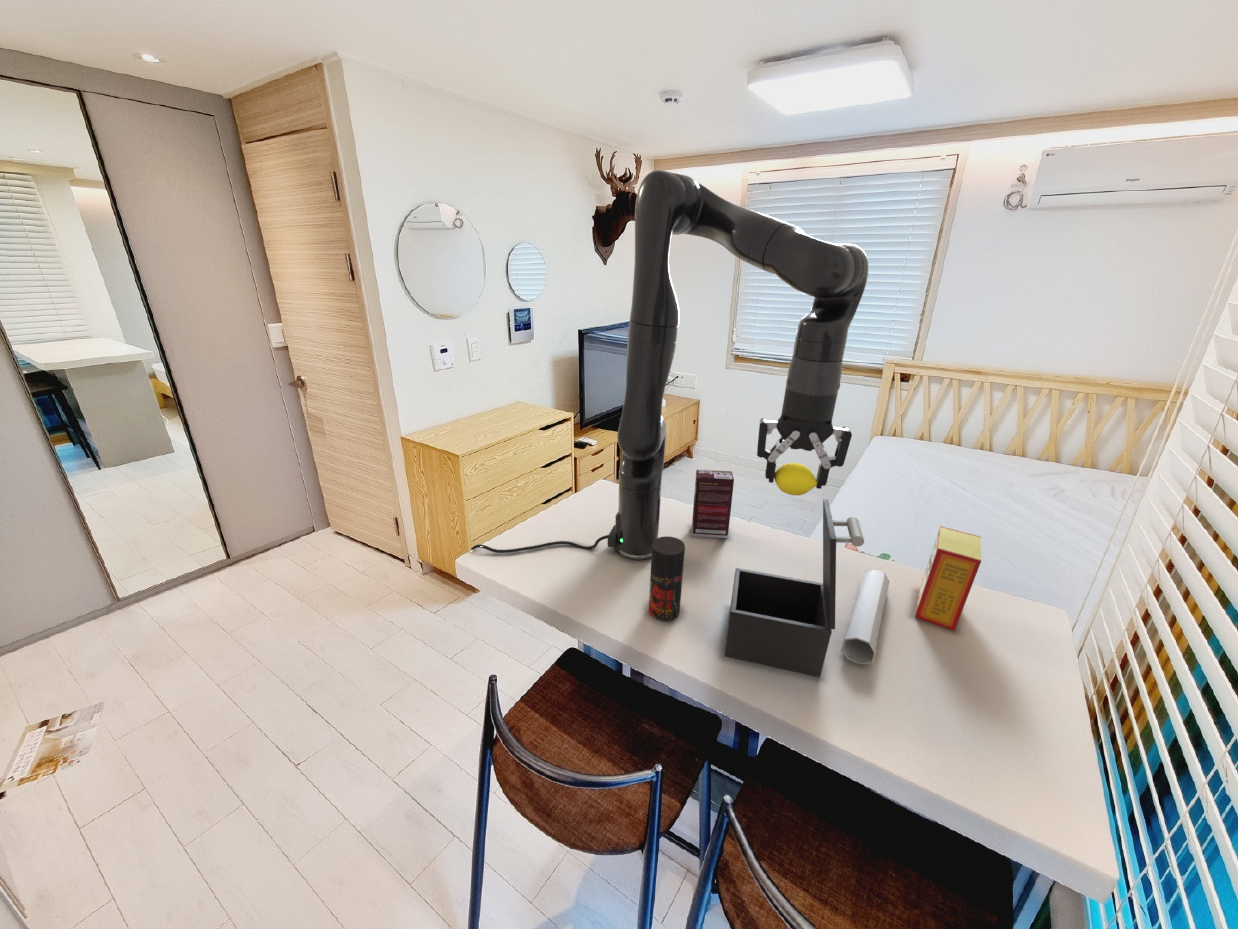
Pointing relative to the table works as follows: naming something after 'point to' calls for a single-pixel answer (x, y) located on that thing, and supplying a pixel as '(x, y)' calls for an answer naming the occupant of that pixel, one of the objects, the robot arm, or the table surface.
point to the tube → (866, 618)
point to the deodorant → (666, 578)
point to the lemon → (794, 479)
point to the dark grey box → (778, 622)
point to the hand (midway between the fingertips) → (794, 483)
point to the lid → (830, 554)
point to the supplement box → (712, 503)
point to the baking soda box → (948, 577)
